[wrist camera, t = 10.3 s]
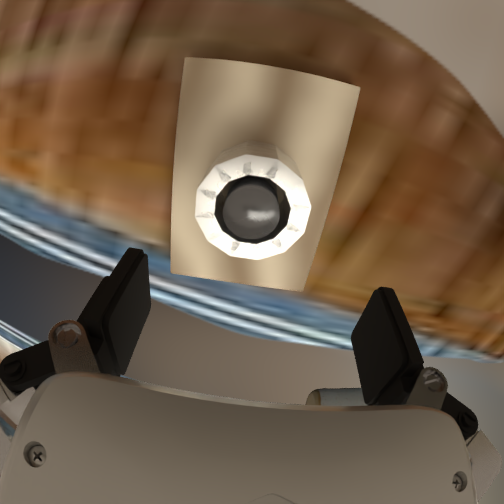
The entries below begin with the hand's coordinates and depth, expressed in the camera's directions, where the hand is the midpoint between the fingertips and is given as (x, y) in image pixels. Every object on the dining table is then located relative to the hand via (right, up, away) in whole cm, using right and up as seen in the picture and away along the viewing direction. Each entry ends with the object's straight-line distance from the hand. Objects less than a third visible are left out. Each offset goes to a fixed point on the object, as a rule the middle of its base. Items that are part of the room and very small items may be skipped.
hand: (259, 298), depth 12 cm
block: (0, +7, +11) cm, 13 cm away
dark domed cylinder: (0, +6, +10) cm, 12 cm away
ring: (0, +6, +10) cm, 12 cm away
